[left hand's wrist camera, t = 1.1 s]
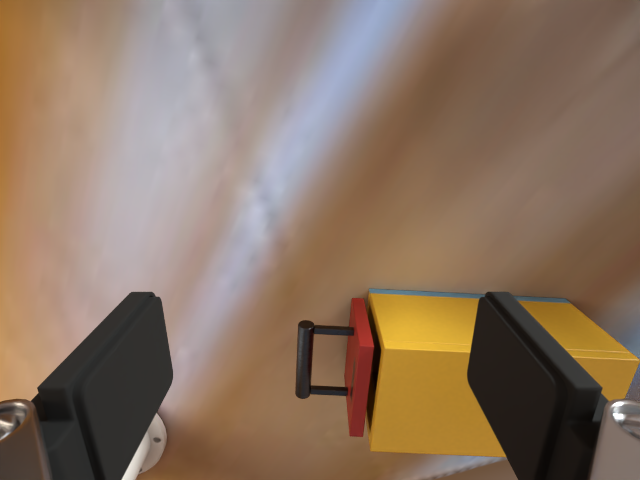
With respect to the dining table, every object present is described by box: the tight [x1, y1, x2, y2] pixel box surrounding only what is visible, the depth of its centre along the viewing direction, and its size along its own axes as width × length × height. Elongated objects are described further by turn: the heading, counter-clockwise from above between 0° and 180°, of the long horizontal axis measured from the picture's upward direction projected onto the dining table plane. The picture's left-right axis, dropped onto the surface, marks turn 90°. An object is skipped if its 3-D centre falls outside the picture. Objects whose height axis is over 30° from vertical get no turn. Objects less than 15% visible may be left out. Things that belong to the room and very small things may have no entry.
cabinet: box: [365, 289, 640, 457], centre depth 37 cm, size 20×11×10 cm, turn 87°
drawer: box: [295, 298, 381, 437], centre depth 36 cm, size 24×10×8 cm, turn 87°
